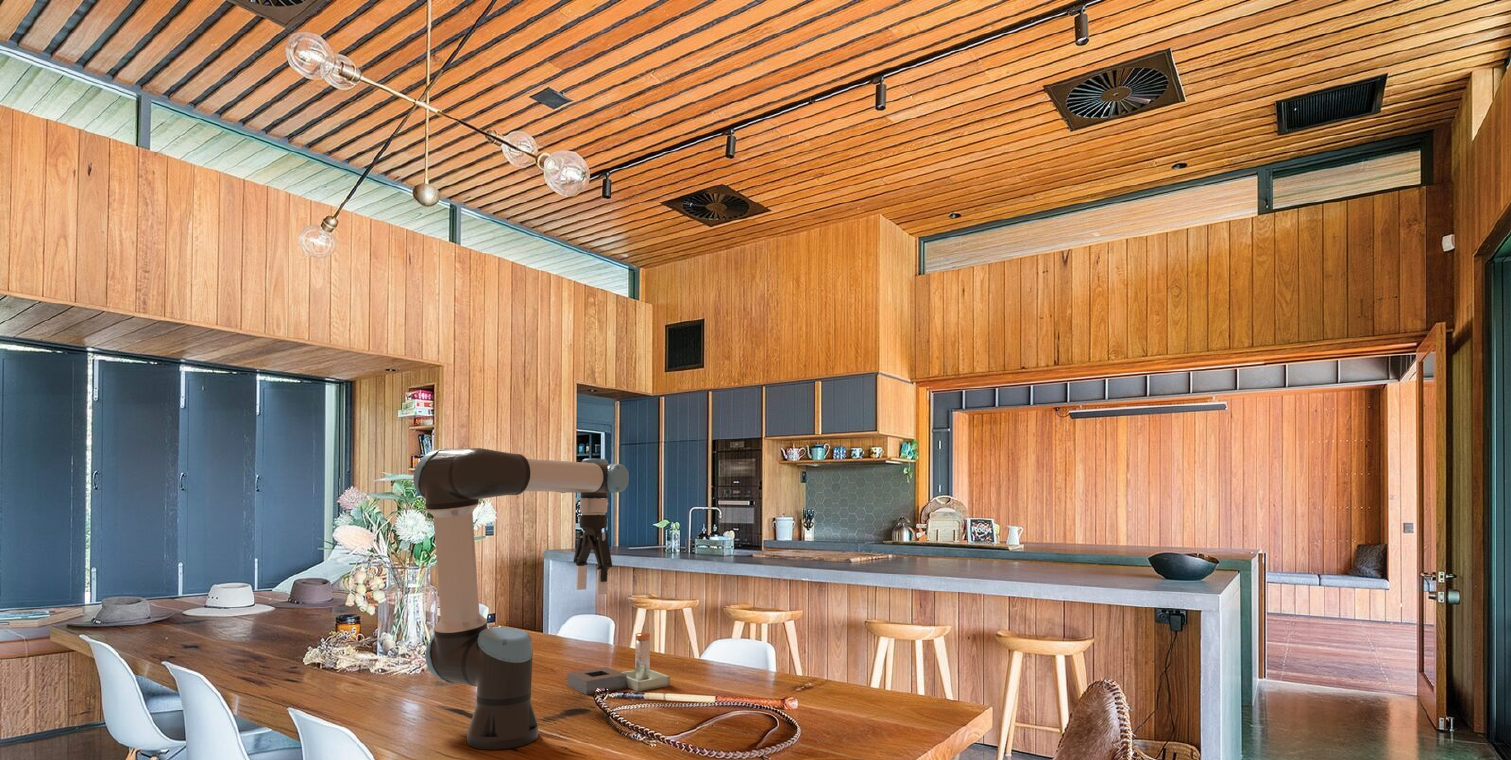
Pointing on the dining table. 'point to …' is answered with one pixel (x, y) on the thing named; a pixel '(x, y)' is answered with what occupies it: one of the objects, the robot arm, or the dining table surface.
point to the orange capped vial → (642, 656)
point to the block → (596, 680)
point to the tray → (647, 681)
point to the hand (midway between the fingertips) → (591, 591)
